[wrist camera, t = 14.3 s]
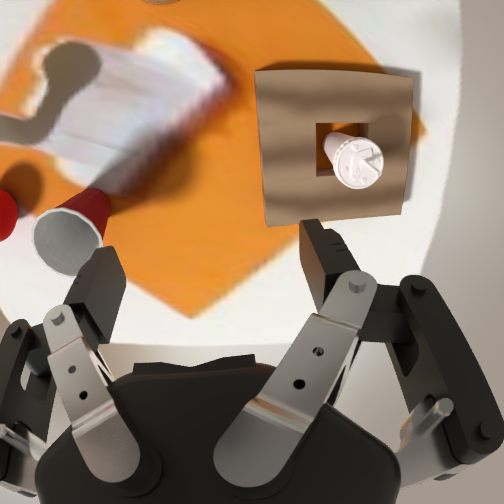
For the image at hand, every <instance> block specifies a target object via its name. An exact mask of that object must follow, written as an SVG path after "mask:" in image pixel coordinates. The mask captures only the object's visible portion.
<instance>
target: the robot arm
mask: <svg viewBox="0 0 504 504" xmlns="http://www.w3.org/2000/svg"><path fill="white" fill-rule="evenodd" d="M142 1H144V2H146V3H150V4H154V5H164V4H170V3H174V2H177V1H179V0H142ZM299 252H300V261H301V265H302V268H303V271H304V274H305V277H306V280H307V282H308V285H309V288H310V291H311V294H312V297H313V300H314V303H315V306H316V309H317V312H318V314H316V313H312V314H311V315H310V317H309V318H308V320H307V321H306V323H305V325H304V326H303V328H302V329H301V331H300V332H299V334H298V336H297V337H296V339H295V340H294V342H293V343H292V345H291V347H290V348H289V350H288V351H287V353H286V354H285V356H284V357H283V359H282V360H281V362H280V364H279V365H278V366H277V367H274V366H271V365H268V364H263V363H256V361H255V355H254V354H250V355H241V356H232V357H223V358H220V359H217V360H213V361H210V362H207V363H204V364H200V365H197V366H193V367H187V366H181V365H174V364H169V363H163V362H155V363H134V367H133V372H132V373H129V374H126V375H124V376H122V377H120V378H118V379H117V380H115V378H114V377H113V375H112V373H111V371H110V370H109V368H108V366H107V364H106V362H105V361H104V359H103V357H102V355H101V353H100V352H99V351H98V349H97V348H98V345H99V344H109V342H110V338H111V335H112V331H113V328H114V324H115V321H116V317H117V314H118V310H119V307H120V304H121V301H122V297H123V294H124V291H125V288H126V276H125V273H124V270H123V268H122V266H121V263H120V261H119V258H118V256H117V253H116V251H115V249H114V247H113V246H106V247H100V248H96V249H95V251H94V252H93V254H92V256H91V258H90V260H88V261H87V262H86V263H85V264H84V265H83V266H82V267H81V268H80V270H79V272H78V274H77V276H76V278H75V280H74V282H73V284H72V286H71V288H70V290H69V292H68V294H67V296H66V298H65V300H64V302H63V305H58V306H56V307H54V308H53V309H51V310H50V311H49V312H48V313H47V314H46V316H45V318H44V320H43V323H42V324H39V325H36V326H33V327H31V326H30V325H29V323H28V322H27V321H26V320H25V319H19V320H16V321H15V322H13V323H12V324H11V325H10V326H9V327H8V328H7V330H6V332H5V334H4V336H3V338H2V341H1V343H0V485H1V486H3V487H5V488H7V489H9V490H11V491H14V492H18V493H20V494H23V495H25V496H27V497H35V496H37V495H38V497H39V500H40V504H395V502H396V499H397V495H398V493H399V491H400V490H403V489H406V488H409V487H412V486H415V485H418V484H421V483H423V482H426V481H428V480H431V479H434V480H446V479H448V478H450V477H452V476H454V475H456V474H458V473H459V472H461V471H463V470H465V469H467V468H468V467H470V466H472V465H473V464H475V463H477V462H478V461H480V460H482V459H483V458H485V457H487V456H488V455H490V454H491V453H493V452H494V451H495V450H497V449H498V448H499V447H500V446H501V444H502V442H503V440H504V420H503V418H502V415H501V413H500V410H499V408H498V406H497V403H496V401H495V398H494V396H493V394H492V392H491V389H490V387H489V385H488V382H487V380H486V378H485V376H484V374H483V372H482V370H481V368H480V366H479V363H478V361H477V360H476V357H475V355H474V353H473V352H472V350H471V348H470V346H469V344H468V342H467V340H466V338H465V336H464V335H463V333H462V331H461V329H460V327H459V326H458V324H457V322H456V320H455V319H454V317H453V315H452V314H451V312H450V310H449V308H448V307H447V305H446V304H445V302H444V300H443V298H442V297H441V295H440V293H439V292H438V290H437V289H436V287H435V285H434V284H433V283H432V282H431V281H430V280H429V279H427V278H425V277H423V276H420V275H409V276H406V277H404V278H403V279H402V280H401V282H400V285H399V286H392V285H381V284H377V282H376V280H375V279H374V277H373V276H371V275H370V274H368V273H366V272H363V271H361V270H360V268H359V266H358V265H357V263H356V261H355V259H354V258H353V256H352V254H351V252H350V251H349V250H348V247H347V245H346V244H345V242H344V240H343V239H342V237H341V235H340V234H338V233H337V232H336V231H334V230H333V229H324V228H323V226H322V225H321V223H320V221H319V219H318V218H315V219H307V220H300V222H299ZM363 341H367V342H382V343H383V342H384V343H385V344H386V347H387V350H388V353H389V355H390V358H391V361H392V363H393V366H394V369H395V372H396V375H397V377H398V380H399V383H400V386H401V389H402V392H403V395H404V398H405V401H406V405H407V408H408V411H409V414H410V415H409V416H408V417H407V418H406V419H405V421H404V422H403V424H402V426H401V429H400V440H401V443H400V448H399V450H398V452H396V453H393V451H392V450H391V449H390V448H389V447H388V446H387V445H386V444H385V443H383V442H382V441H380V440H379V439H377V438H376V437H375V436H373V435H372V434H370V433H369V432H367V431H366V430H364V429H363V428H362V427H360V426H359V425H357V424H356V423H355V422H353V421H352V420H350V419H349V418H348V417H346V416H345V415H343V414H342V413H341V412H339V411H338V410H337V409H335V408H334V406H335V404H336V402H337V400H338V398H339V396H340V394H341V391H342V389H343V387H344V384H345V382H346V379H347V377H348V375H349V372H350V370H351V368H352V366H353V363H354V361H355V359H356V357H357V355H358V352H359V350H360V347H361V345H362V343H363ZM24 365H26V366H27V367H28V368H29V369H30V370H31V373H30V376H29V380H28V383H27V387H26V390H24V389H23V388H22V386H21V382H20V378H21V374H22V371H23V368H24ZM56 389H58V391H59V394H60V397H61V400H62V402H63V405H64V407H65V409H66V412H67V415H68V417H69V419H70V421H71V425H70V426H69V427H68V428H67V429H66V430H65V432H63V434H62V435H61V436H60V437H59V438H58V439H57V440H56V441H55V442H54V443H53V444H52V445H51V446H50V447H49V448H48V449H47V446H46V441H47V434H48V429H49V423H50V418H51V412H52V408H53V403H54V398H55V394H56Z"/></svg>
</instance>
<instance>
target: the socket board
mask: <svg viewBox="0 0 504 504" xmlns="http://www.w3.org/2000/svg"><path fill="white" fill-rule="evenodd" d="M254 82H255V94H256V107H257V119H258V132H259V145H260V159H261V173H262V187H263V202H264V217H265V221H266V225H267V227H275V226H284V225H294V224H299V222H300V220H307V219H315V218H318V219H319V221H320V222H324V221H334V220H344V219H355V218H366V217H378V216H389V215H401V210H402V204H403V197H404V191H405V183H406V176H407V168H408V158H409V148H410V137H411V123H412V103H413V78H410V77H403V76H396V75H388V74H380V73H370V72H358V71H342V70H267V71H254ZM316 123H360V134H359V137H363V138H367V139H369V140H371V141H372V142H374V143H375V144H376V145H377V146H378V147H379V148H380V150H381V152H382V154H383V158H384V166H383V170H382V175H381V176H379V178H378V179H377V180H376V181H375V182H374V183H373V184H372V185H370V186H368V187H366V188H363V189H353V188H350V187H347V186H346V185H344V184H343V183H342V182H341V181H340V180H339V179H338V178H337V177H336V175H335V172H334V168H331V169H316Z"/></svg>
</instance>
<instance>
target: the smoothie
mask: <svg viewBox="0 0 504 504" xmlns="http://www.w3.org/2000/svg"><path fill="white" fill-rule="evenodd" d="M322 146H323V149H324V151H325V153H326V154H327V156H328V158H329V159H330V161H331V163H332V165H333V168H334V172H335V175H336V177H337V178H338V179H339V180H340V181H341V182H342V183H343V184H344V185H346V186H347V187H350V188H353V189H363V188H366V187H368V186H370V185H372V184H373V183H374V182H375V181H376V180H377V179H378V178H379V176H381V175H382V170H383V166H384V158H383V154H382V152H381V150H380V148H379V147H378V146H377V145H376V144H375V143H374V142H372V141H371V140H369V139H367V138H363V137H353V136H349V135H346V134H342V133H339V132H331V133H329V134H327V135H326V136H325V137H324V139H323V142H322Z"/></svg>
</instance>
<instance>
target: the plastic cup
mask: <svg viewBox="0 0 504 504" xmlns="http://www.w3.org/2000/svg"><path fill="white" fill-rule="evenodd" d="M109 213H110V201H109V199H108V198H107V196H106V195H105V194H104V193H103V192H102V191H101V190H98V189H95V188H94V189H86V190H84V191H83V192H81V193H79V194H77V195H75V196H74V197H72V198H70V199H69V200H67V201H66V202H64V203H63V204H61V205H59V206H58V207H56V208H53V209H49V210H47V211H46V212H44V213H43V214H41V215H40V216H38V217H37V219H36V221H35V223H34V225H33V227H32V244H33V246H34V249H35V251H36V254H37V256H38V257H39V258H40V259H41V261H42V262H43V263H44V264H45V265H46V266H47V267H48V268H50V269H51V270H53V271H54V272H56V273H57V274H60V275H63V276H66V277H69V278H76V276H77V274H78V272H79V270H80V268H81V267H82V266H83V265H84V264H85V263H86V262H87V261H88V260H90V258H91V256H92V254H93V252H94V251H95V249H96V248H100V247H104V245H103V236H104V233H105V229H106V225H107V220H108V217H109Z"/></svg>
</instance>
